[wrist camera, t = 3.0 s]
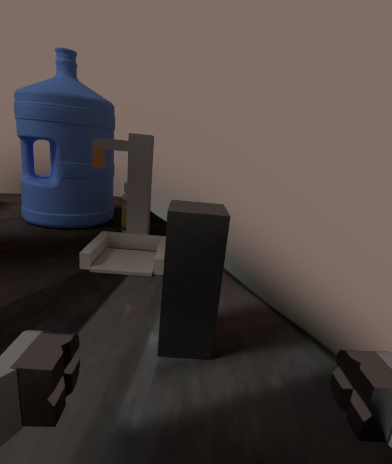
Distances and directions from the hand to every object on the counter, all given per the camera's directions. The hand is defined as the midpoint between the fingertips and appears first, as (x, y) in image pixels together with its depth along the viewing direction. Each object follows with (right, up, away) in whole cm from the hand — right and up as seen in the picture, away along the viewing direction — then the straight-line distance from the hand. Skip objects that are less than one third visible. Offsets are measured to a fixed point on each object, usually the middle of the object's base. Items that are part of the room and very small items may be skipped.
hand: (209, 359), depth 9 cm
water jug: (-24, +6, +46) cm, 52 cm away
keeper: (-10, +1, +31) cm, 33 cm away
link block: (-1, -5, +14) cm, 15 cm away
